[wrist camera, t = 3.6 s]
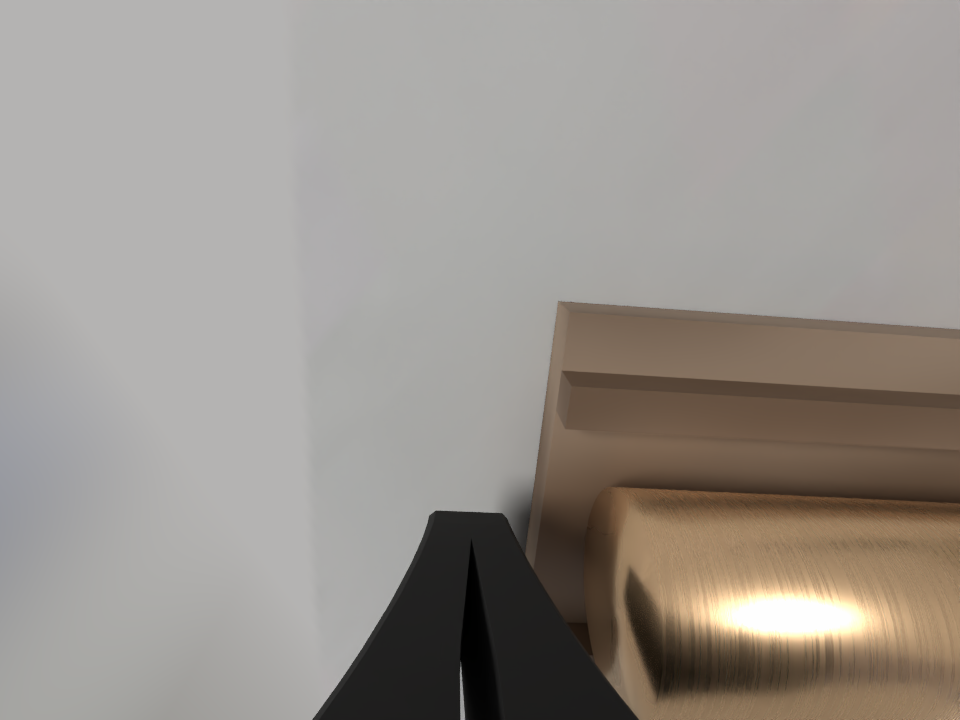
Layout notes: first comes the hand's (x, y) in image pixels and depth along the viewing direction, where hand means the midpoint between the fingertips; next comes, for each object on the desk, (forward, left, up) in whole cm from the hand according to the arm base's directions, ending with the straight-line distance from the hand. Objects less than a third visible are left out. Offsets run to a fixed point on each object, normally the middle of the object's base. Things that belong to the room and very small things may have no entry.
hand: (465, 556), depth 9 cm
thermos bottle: (0, -11, -1) cm, 11 cm away
